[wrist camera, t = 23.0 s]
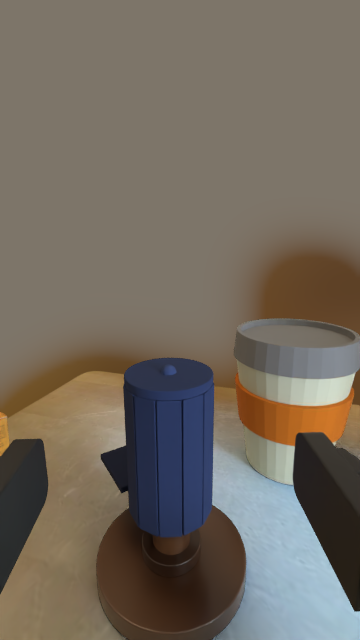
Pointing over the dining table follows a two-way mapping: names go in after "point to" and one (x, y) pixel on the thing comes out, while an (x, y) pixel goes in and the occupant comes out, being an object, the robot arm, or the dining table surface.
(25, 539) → the robot arm
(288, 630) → the dining table surface
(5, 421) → the supplement box
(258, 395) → the reusable coffee cup
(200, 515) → the navy lidded canister
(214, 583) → the paper towel holder
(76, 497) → the dining table surface
